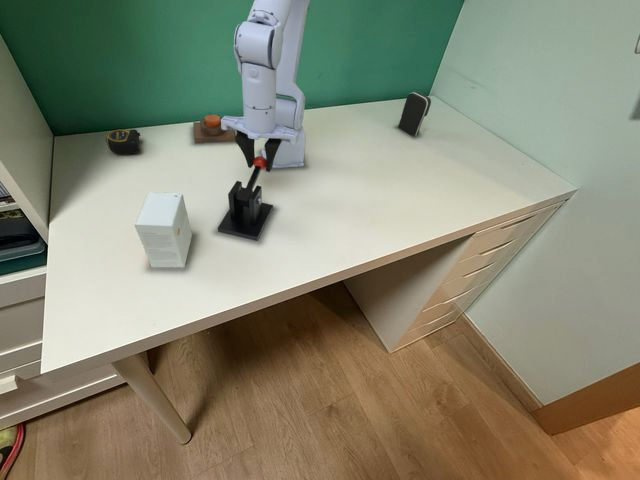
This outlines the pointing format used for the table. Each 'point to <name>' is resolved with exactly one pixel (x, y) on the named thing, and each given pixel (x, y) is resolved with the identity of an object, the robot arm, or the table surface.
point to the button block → (211, 133)
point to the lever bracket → (245, 215)
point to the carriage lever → (251, 182)
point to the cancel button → (212, 120)
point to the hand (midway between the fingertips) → (260, 167)
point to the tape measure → (123, 141)
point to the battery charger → (414, 112)
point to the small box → (164, 229)
